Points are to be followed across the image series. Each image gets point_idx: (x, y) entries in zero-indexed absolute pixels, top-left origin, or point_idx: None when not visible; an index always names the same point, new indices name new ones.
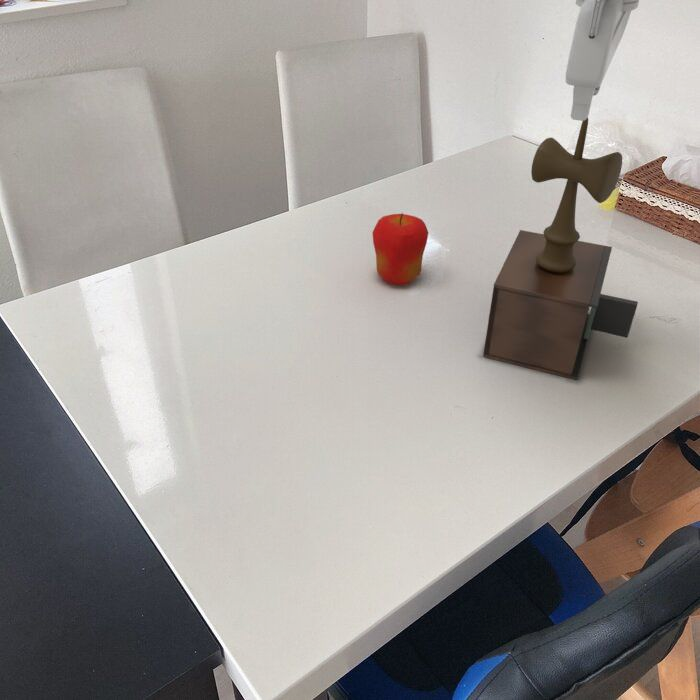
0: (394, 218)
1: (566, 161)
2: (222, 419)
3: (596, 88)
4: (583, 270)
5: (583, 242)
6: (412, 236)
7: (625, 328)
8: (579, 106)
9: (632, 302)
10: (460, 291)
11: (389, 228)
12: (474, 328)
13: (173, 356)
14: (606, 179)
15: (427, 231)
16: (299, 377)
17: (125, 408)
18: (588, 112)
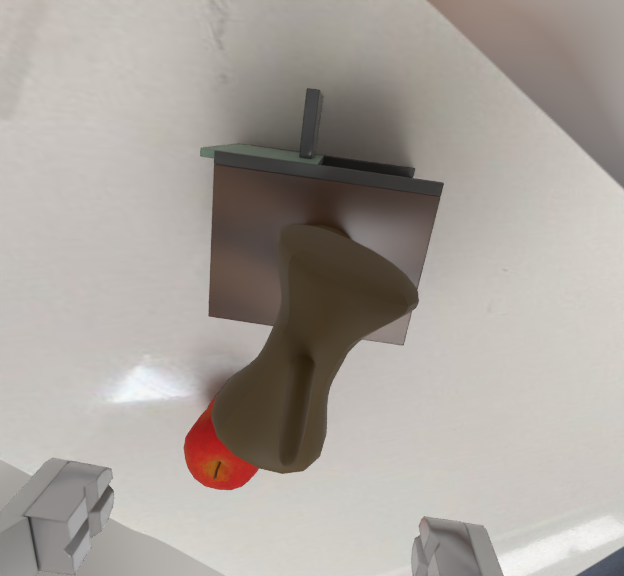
0: (211, 475)
1: (321, 389)
2: (534, 503)
3: (89, 494)
4: (324, 206)
5: (216, 206)
6: None
7: (321, 102)
8: None
9: (313, 98)
10: (246, 330)
11: (243, 477)
12: None
13: None
14: (405, 282)
15: (210, 424)
16: (462, 460)
17: (526, 568)
18: (495, 554)
